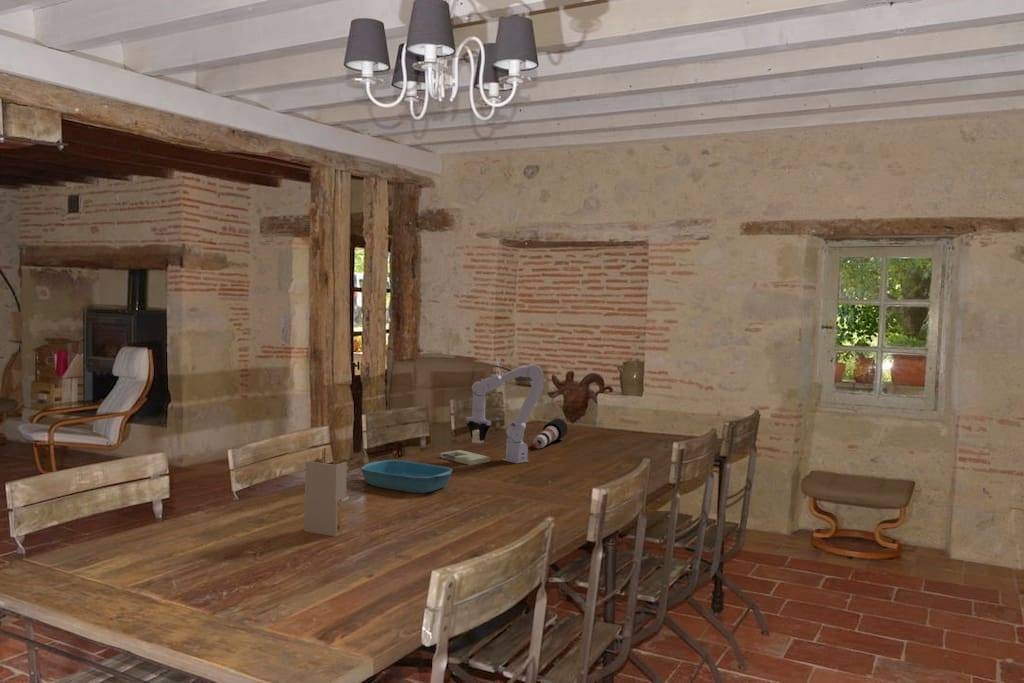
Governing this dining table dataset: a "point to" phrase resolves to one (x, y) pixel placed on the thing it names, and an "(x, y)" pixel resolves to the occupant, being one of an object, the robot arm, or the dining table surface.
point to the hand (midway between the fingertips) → (477, 439)
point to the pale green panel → (465, 457)
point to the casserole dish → (406, 475)
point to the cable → (550, 433)
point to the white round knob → (476, 437)
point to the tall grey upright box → (324, 495)
